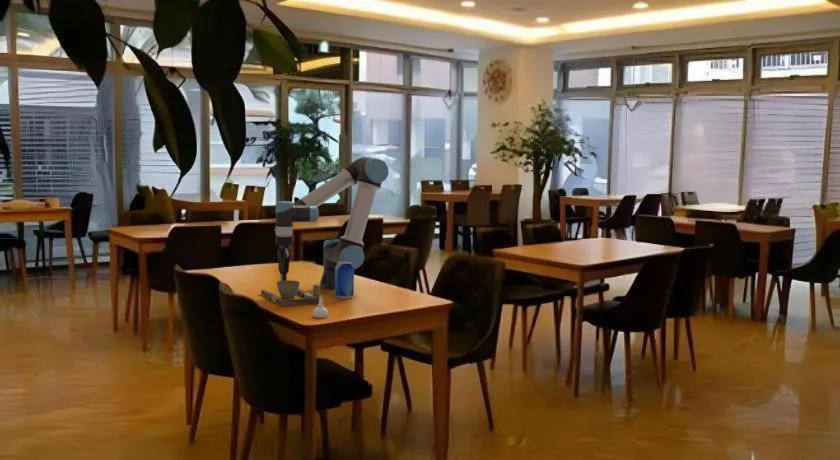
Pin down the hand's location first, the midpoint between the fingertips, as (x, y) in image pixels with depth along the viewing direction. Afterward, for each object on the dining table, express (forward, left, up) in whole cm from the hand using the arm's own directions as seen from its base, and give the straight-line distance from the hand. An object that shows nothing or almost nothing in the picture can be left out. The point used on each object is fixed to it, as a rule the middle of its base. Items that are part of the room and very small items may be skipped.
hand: (283, 287), depth 354 cm
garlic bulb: (-21, +45, -4) cm, 50 cm away
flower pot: (-3, +6, -4) cm, 8 cm away
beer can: (-28, +3, -4) cm, 28 cm away
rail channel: (-6, +7, -4) cm, 9 cm away
